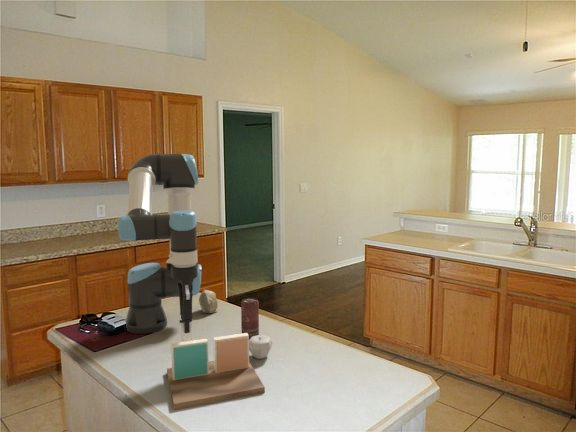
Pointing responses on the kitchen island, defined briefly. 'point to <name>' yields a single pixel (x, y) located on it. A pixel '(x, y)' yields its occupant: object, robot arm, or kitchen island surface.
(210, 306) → the grey rock
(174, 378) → the square block
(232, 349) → the tile cream
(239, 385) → the board
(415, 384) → the kitchen island surface
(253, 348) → the apple
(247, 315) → the can
